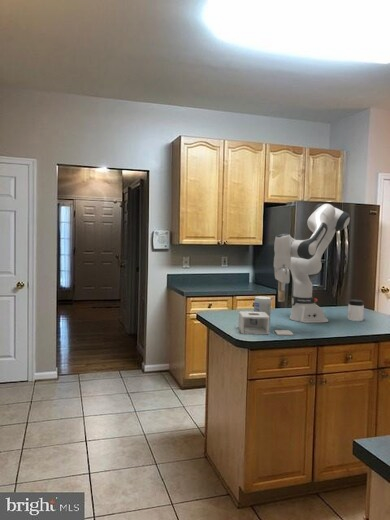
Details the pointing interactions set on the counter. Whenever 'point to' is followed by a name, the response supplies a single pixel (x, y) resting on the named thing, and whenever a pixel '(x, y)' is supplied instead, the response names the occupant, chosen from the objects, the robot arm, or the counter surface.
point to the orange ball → (253, 321)
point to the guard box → (247, 328)
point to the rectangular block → (281, 293)
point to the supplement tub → (262, 305)
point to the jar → (355, 310)
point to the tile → (283, 332)
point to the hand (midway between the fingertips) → (281, 289)
